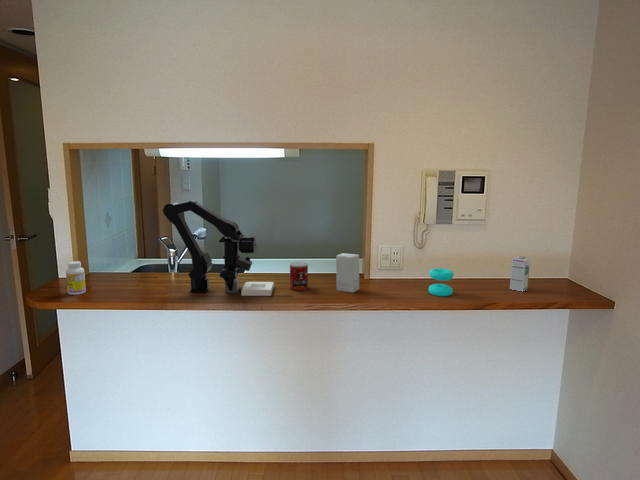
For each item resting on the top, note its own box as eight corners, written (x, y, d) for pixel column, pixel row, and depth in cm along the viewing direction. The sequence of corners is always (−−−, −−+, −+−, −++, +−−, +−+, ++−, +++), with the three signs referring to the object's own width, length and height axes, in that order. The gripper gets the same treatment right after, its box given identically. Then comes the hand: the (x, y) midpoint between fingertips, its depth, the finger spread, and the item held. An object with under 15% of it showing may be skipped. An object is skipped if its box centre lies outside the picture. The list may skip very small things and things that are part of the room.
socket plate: (241, 295, 181) (241, 289, 180) (246, 287, 193) (246, 281, 192) (271, 295, 181) (270, 289, 181) (273, 287, 193) (273, 282, 192)
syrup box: (522, 292, 189) (526, 259, 187) (509, 289, 193) (511, 257, 191) (527, 290, 193) (530, 257, 191) (513, 287, 197) (516, 255, 195)
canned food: (292, 291, 187) (292, 266, 185) (288, 286, 195) (288, 262, 193) (309, 290, 189) (309, 265, 187) (305, 285, 197) (305, 261, 195)
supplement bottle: (65, 293, 182) (62, 262, 179) (82, 289, 187) (79, 259, 184) (71, 296, 177) (68, 265, 175) (88, 292, 182) (86, 262, 180)
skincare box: (359, 289, 191) (360, 254, 188) (352, 293, 185) (353, 257, 183) (342, 286, 195) (343, 252, 192) (335, 290, 190) (335, 254, 187)
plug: (225, 292, 185) (224, 281, 184) (227, 290, 189) (226, 278, 188) (237, 292, 185) (237, 281, 184) (238, 290, 189) (238, 278, 188)
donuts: (433, 266, 192) (456, 269, 187) (432, 288, 194) (455, 292, 188) (426, 271, 184) (450, 274, 178) (424, 294, 185) (448, 298, 180)
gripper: (247, 257, 175) (247, 295, 177) (253, 248, 193) (254, 283, 196) (218, 257, 175) (220, 295, 177) (228, 248, 193) (228, 282, 196)
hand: (232, 288), depth 186 cm, fingers open, 4 cm apart
